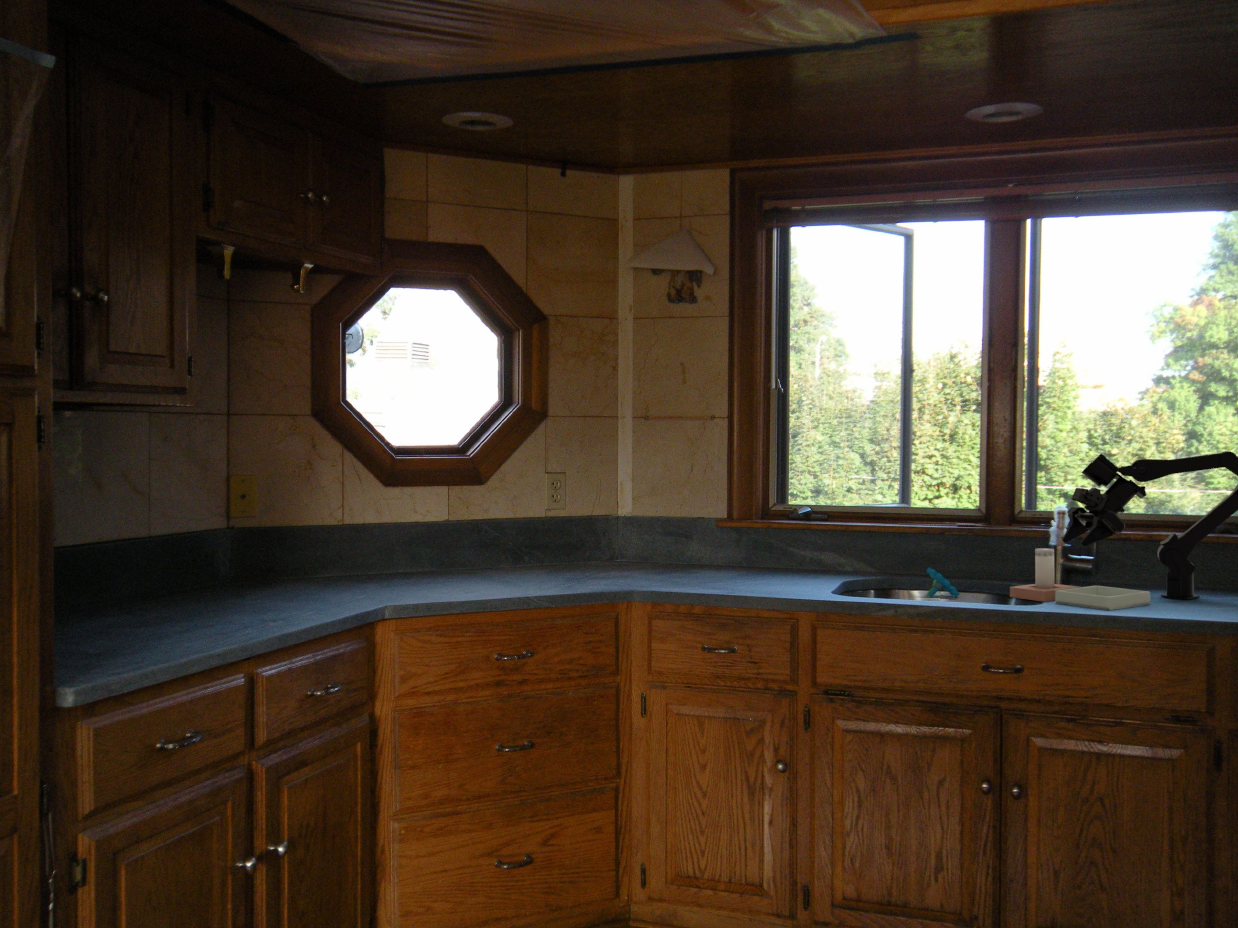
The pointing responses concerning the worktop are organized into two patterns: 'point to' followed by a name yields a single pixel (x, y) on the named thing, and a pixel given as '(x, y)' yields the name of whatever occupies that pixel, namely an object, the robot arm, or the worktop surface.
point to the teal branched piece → (940, 584)
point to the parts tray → (1102, 597)
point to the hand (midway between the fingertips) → (1072, 543)
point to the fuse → (1044, 568)
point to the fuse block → (1037, 592)
